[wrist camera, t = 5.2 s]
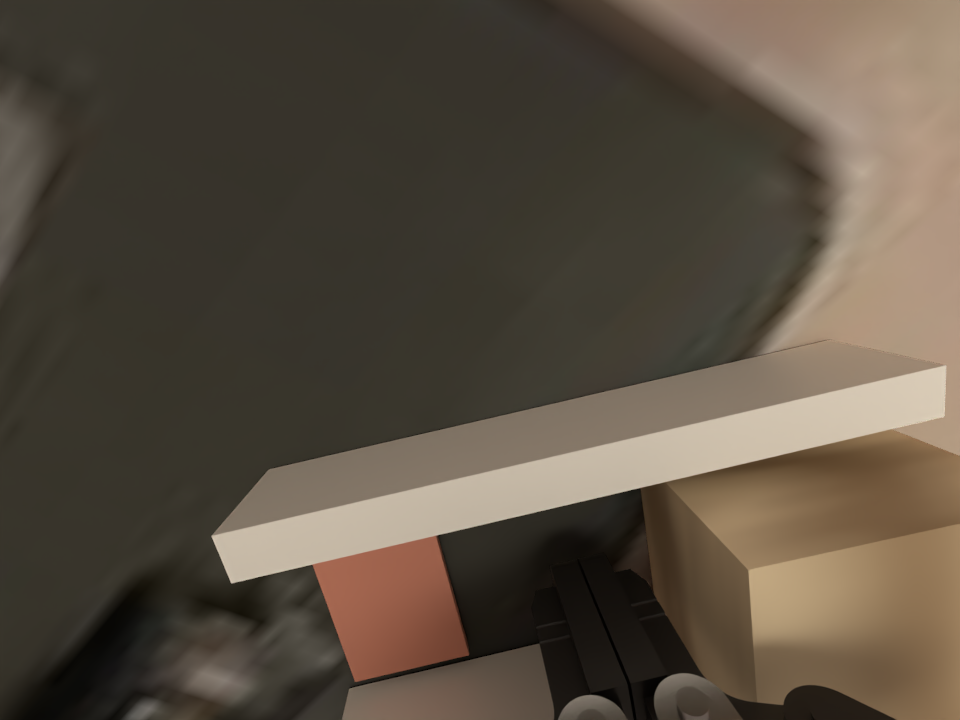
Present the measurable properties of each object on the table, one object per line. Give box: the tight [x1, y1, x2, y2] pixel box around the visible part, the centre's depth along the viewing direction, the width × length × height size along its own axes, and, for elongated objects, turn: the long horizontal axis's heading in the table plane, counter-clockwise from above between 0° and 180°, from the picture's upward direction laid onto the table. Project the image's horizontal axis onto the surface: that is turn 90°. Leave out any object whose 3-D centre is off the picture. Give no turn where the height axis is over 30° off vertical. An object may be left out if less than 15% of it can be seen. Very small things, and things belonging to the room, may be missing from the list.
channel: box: [212, 340, 946, 720], centre depth 12 cm, size 16×9×3 cm, turn 103°
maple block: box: [641, 429, 960, 720], centre depth 11 cm, size 6×5×5 cm
